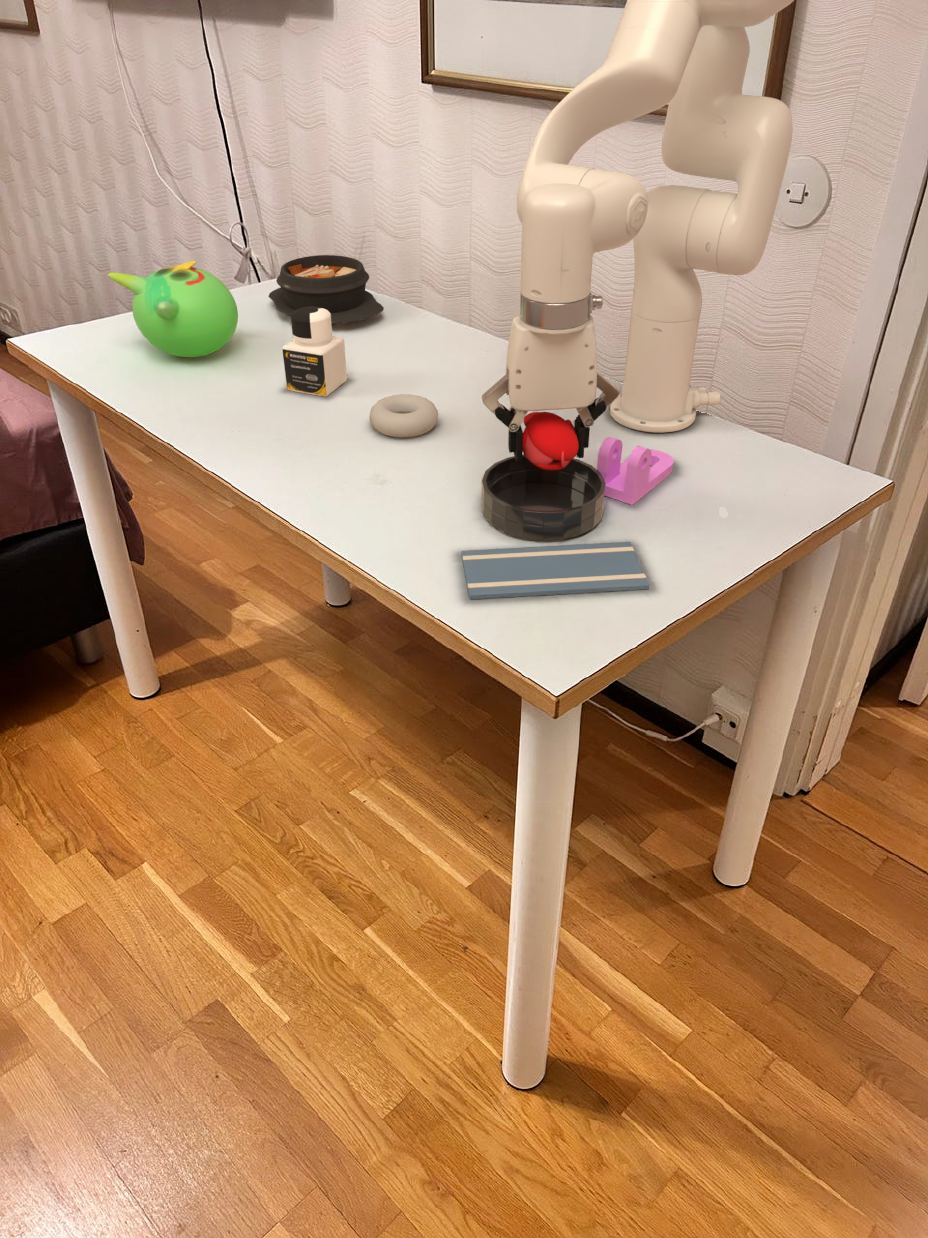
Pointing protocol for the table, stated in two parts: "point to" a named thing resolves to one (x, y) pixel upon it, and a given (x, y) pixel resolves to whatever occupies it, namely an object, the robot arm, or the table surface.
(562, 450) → the red rounded lobed piece
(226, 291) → the toy bird
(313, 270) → the casserole
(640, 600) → the table surface
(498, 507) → the bowl
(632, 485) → the bracket
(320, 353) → the medicine bottle
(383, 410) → the donut
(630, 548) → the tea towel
